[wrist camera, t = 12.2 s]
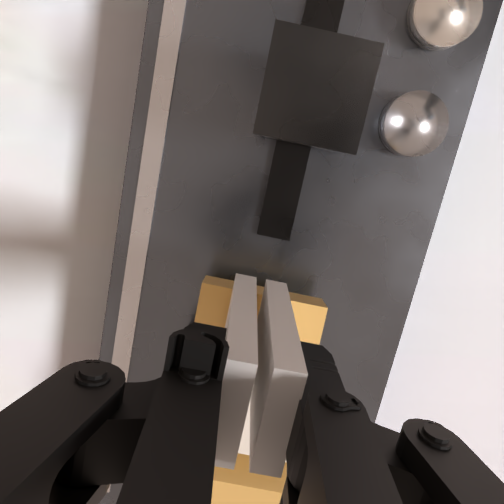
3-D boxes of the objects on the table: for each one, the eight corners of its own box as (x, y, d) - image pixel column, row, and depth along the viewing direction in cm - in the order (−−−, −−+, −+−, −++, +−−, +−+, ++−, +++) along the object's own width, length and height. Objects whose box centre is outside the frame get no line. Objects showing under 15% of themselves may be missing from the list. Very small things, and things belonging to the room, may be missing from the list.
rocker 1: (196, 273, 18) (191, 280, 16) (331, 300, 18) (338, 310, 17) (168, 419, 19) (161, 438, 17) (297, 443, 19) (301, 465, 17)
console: (190, -172, 18) (173, -256, 14) (505, -99, 18) (568, -161, 14) (95, 482, 24) (66, 540, 21) (324, 524, 25) (335, 588, 21)
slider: (271, 50, 17) (275, 18, 13) (354, 68, 17) (384, 43, 13) (253, 137, 17) (252, 133, 13) (333, 154, 17) (356, 155, 13)
